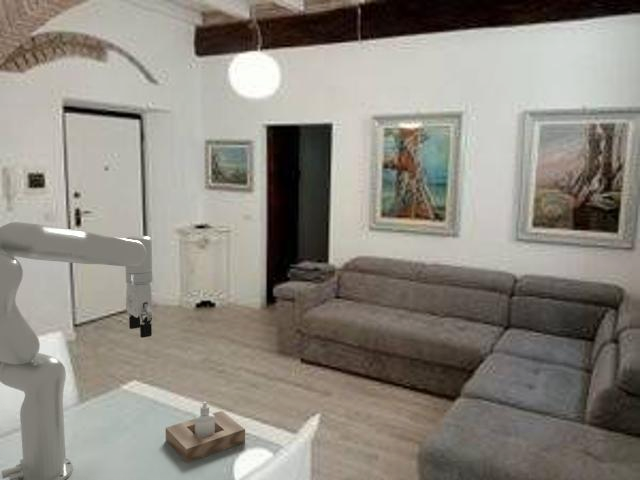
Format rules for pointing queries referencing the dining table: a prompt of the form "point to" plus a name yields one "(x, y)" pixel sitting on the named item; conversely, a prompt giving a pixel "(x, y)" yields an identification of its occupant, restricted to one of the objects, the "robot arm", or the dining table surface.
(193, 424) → the socket block
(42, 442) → the robot arm
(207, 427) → the eye dropper bottle
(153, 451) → the dining table surface
